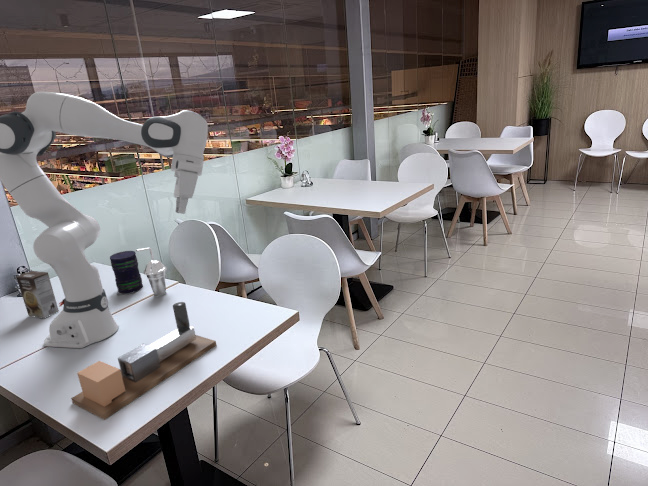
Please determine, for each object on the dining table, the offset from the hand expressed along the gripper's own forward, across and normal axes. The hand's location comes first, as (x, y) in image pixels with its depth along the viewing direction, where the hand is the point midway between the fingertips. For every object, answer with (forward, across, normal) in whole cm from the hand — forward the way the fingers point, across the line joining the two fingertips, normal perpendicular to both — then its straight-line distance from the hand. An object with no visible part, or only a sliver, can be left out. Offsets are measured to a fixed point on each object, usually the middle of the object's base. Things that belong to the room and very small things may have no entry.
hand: (179, 213), depth 136 cm
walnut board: (+45, +9, -2) cm, 46 cm away
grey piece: (+41, +6, +1) cm, 41 cm away
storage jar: (+34, -60, -9) cm, 70 cm away
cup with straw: (+33, -48, +2) cm, 58 cm away
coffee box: (+45, -55, -38) cm, 80 cm away
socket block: (+49, +16, -13) cm, 53 cm away
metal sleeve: (+44, +10, -5) cm, 46 cm away
